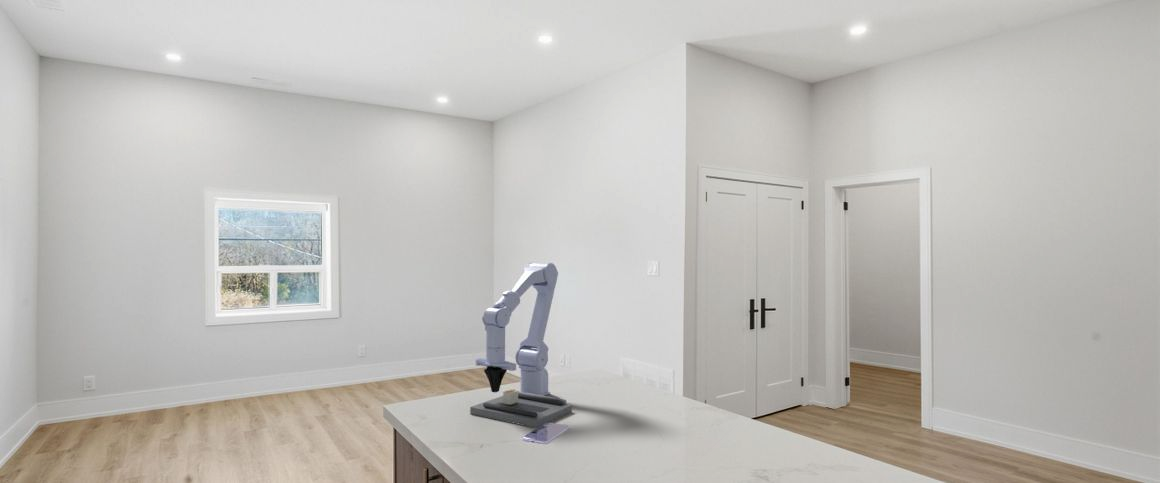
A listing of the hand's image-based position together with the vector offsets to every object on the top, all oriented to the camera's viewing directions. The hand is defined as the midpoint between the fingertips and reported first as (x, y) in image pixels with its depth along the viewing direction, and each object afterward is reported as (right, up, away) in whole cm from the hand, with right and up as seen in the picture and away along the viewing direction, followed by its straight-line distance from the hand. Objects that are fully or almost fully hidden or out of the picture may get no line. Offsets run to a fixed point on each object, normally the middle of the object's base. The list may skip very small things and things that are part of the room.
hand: (495, 391), depth 177 cm
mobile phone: (+17, -6, -24) cm, 30 cm away
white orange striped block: (+5, -3, -3) cm, 6 cm away
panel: (+9, -5, -5) cm, 11 cm away
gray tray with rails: (+9, -3, -5) cm, 11 cm away
